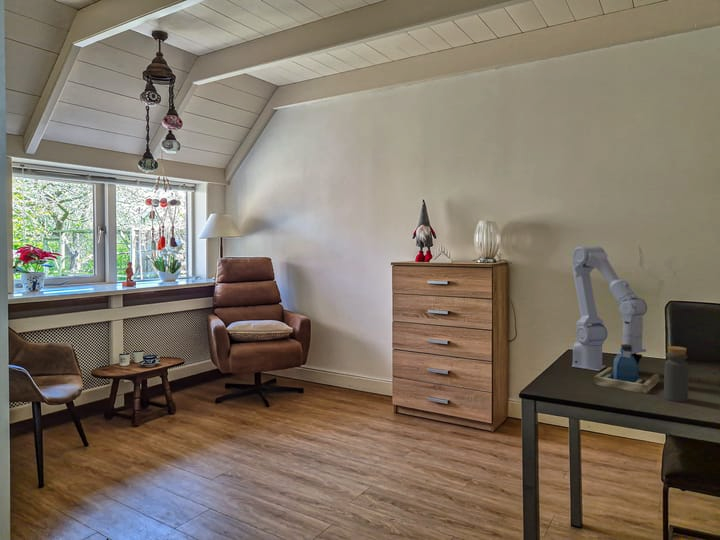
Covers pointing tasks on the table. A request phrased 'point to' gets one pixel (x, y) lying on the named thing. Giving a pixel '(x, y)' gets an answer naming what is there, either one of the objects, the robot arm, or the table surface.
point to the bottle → (676, 375)
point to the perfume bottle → (625, 366)
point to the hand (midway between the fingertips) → (631, 375)
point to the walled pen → (625, 382)
